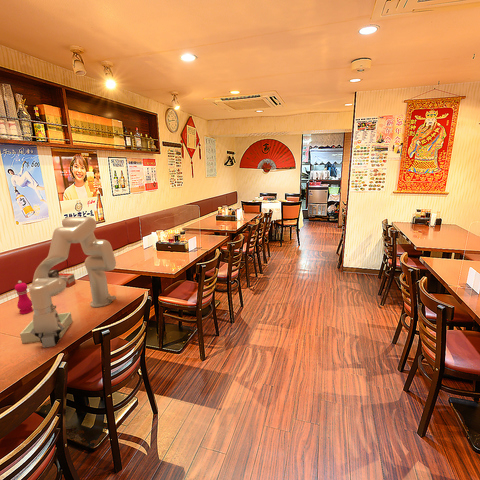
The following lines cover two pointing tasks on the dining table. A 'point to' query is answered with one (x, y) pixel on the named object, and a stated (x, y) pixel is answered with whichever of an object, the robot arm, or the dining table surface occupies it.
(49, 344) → the cube
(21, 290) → the pepper mill
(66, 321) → the tote
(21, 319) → the dining table surface
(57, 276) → the coffee box
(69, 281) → the medicine box
